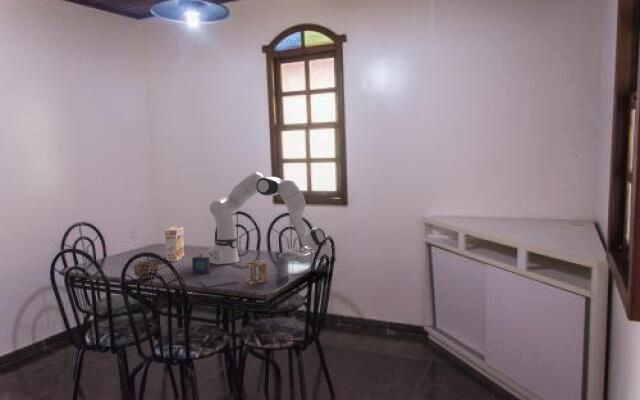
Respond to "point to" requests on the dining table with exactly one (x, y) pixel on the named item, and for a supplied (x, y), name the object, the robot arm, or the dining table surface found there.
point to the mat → (218, 281)
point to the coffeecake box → (174, 243)
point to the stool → (261, 272)
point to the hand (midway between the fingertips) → (283, 257)
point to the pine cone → (146, 268)
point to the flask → (200, 264)
